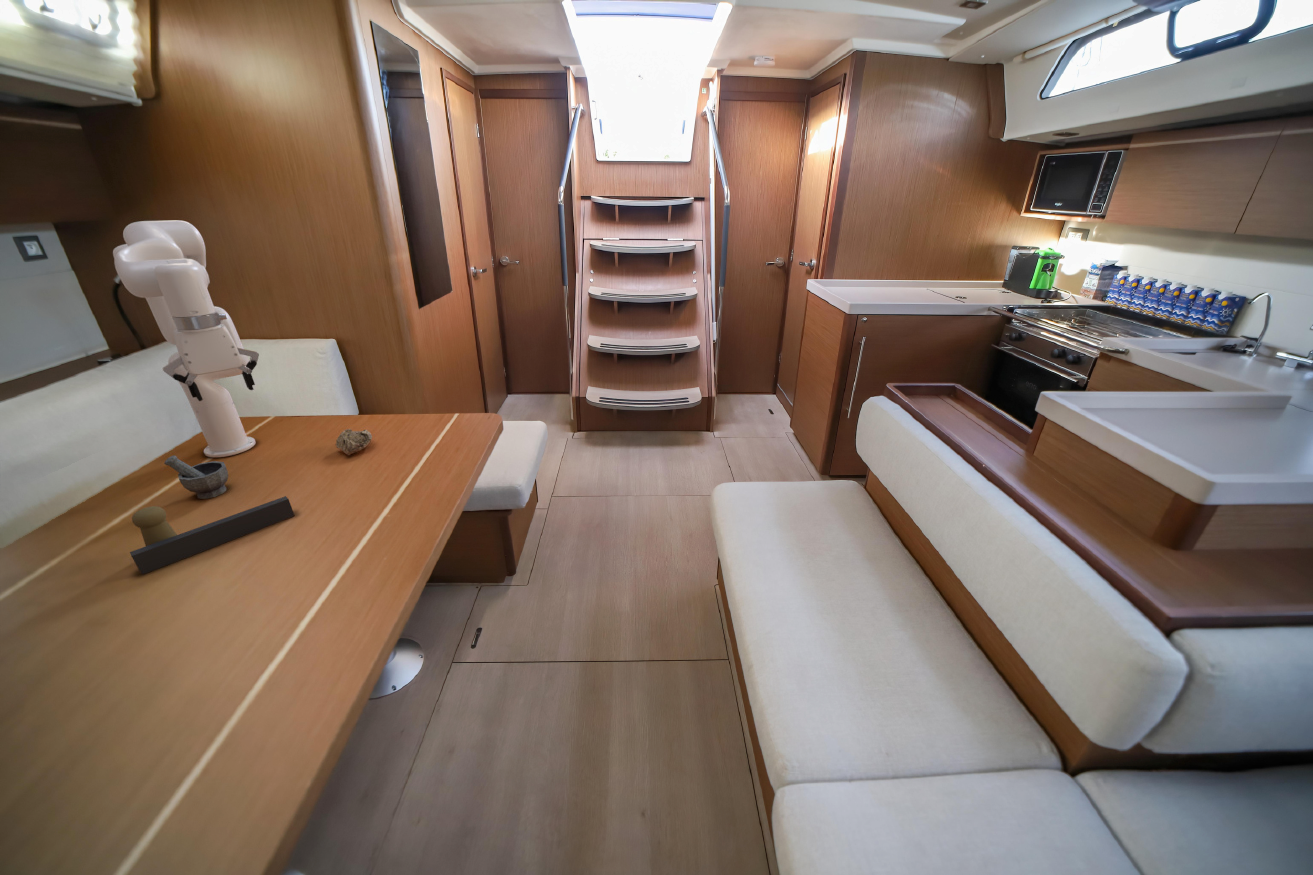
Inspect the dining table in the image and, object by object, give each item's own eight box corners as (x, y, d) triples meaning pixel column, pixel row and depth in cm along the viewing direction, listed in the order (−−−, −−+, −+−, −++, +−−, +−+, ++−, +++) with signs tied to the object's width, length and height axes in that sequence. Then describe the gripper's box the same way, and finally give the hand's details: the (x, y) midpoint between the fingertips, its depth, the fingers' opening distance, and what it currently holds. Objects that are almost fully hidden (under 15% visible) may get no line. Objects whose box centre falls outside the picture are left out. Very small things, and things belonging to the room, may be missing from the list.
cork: (191, 546, 113) (171, 505, 108) (160, 562, 108) (137, 520, 103) (174, 540, 115) (153, 500, 110) (142, 556, 109) (119, 515, 105)
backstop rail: (140, 570, 105) (129, 552, 103) (292, 512, 125) (285, 495, 123) (142, 575, 104) (131, 556, 102) (294, 515, 124) (288, 498, 121)
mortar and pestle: (238, 480, 139) (222, 441, 133) (230, 496, 131) (213, 456, 126) (187, 489, 134) (168, 450, 129) (176, 507, 127) (155, 466, 121)
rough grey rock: (345, 466, 152) (374, 450, 152) (327, 450, 148) (358, 434, 148) (351, 447, 161) (379, 432, 161) (334, 431, 157) (363, 416, 157)
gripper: (241, 313, 119) (265, 381, 127) (142, 325, 107) (175, 399, 115) (249, 318, 114) (273, 388, 122) (147, 332, 103) (181, 408, 110)
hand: (225, 393), depth 118 cm, fingers open, 9 cm apart
